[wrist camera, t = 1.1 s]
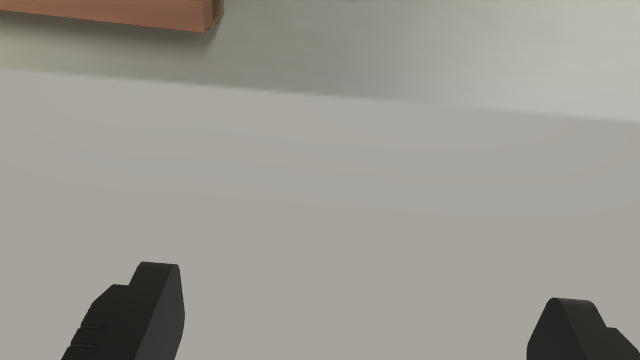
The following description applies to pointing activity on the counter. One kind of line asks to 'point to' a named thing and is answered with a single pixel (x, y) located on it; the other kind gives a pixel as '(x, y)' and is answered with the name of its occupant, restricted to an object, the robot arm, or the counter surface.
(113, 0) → the guide channel
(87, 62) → the counter surface
